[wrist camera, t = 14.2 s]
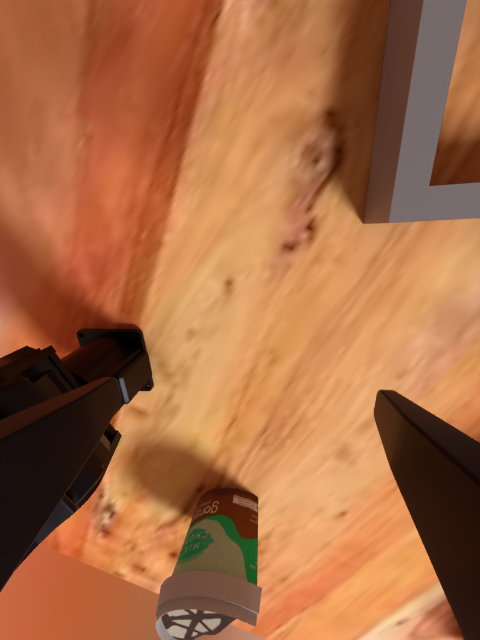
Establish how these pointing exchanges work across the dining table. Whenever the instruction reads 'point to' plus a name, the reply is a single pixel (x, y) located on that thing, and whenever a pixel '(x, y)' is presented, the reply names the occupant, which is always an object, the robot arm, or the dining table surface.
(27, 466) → the robot arm
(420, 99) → the frame
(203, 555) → the food container
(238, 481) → the dining table surface
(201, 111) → the dining table surface
